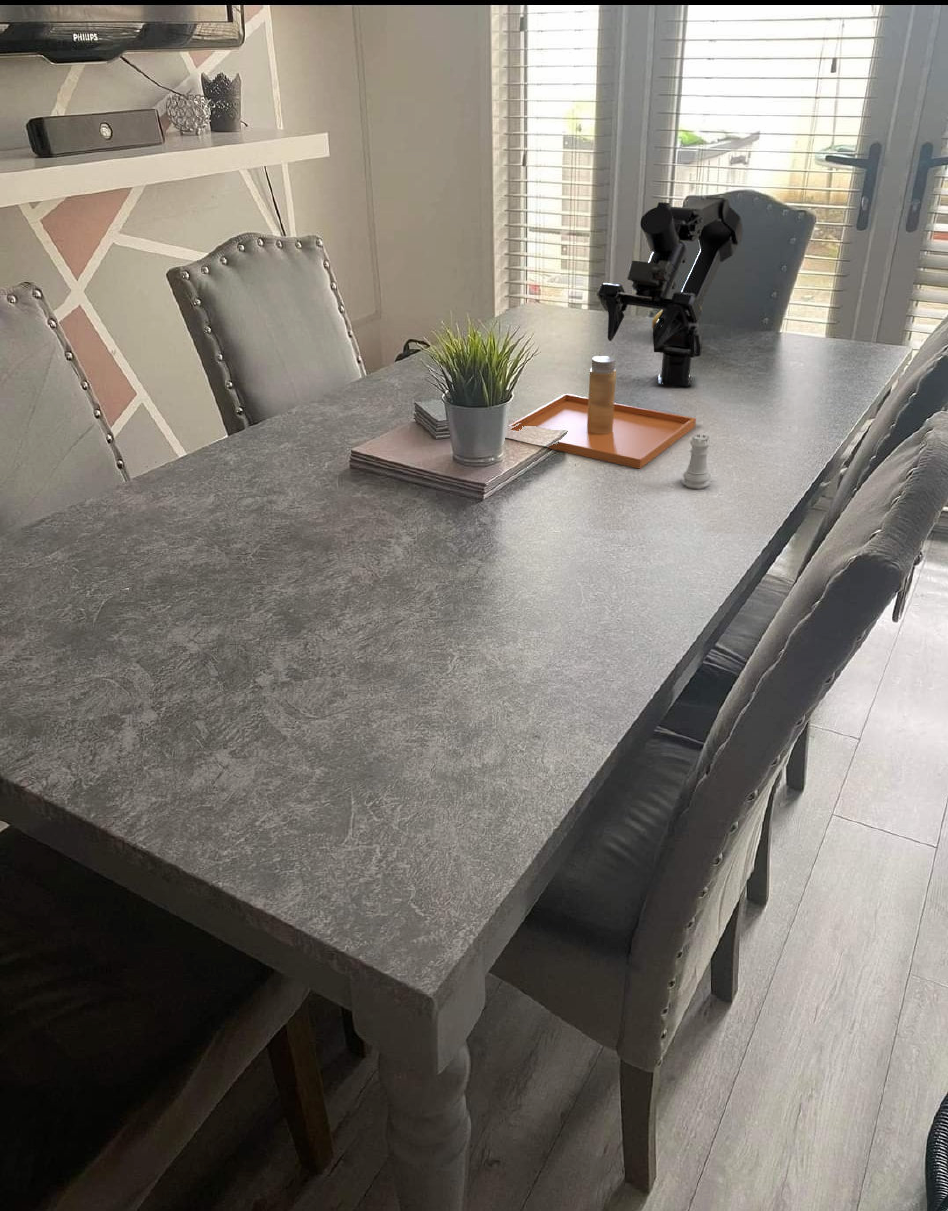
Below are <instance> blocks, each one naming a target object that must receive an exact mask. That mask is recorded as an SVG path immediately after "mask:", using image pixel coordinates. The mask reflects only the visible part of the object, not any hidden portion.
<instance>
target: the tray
mask: <svg viewBox="0 0 948 1211" xmlns="http://www.w3.org/2000/svg"><path fill="white" fill-rule="evenodd" d="M588 398H589V397H586V396H580V395H575V394H569V393H563V394H562V395H560V396H558V397H556V398H555V399H552V400H551V401H549V402H548V403H546V404H544V405H542V406H540V407H539V408H537V409H535V410H533V411H532V412H530V413H528V414H526V415H525V416H522V417H521V418H519V419H517V420H516V421H514V422H512V423H510V424H509V426H515V425H516V424H518V423H521V424H519V425H518V426H516V427H514V428H512V429H511V430H513V431H519V429H520V430H521V429H522V426H523V427H524V426H536V427H541V428H546V429H551V430H567V431H568V432H567V434H566V435H565V436H564V437H563V438H562V439H561V440H559V442H558V444H557V445H556V444H553V445H551V446H549V447H548V448H547V449H550V450H554V451H560V452H563V453H569V454H572V455H577V456H581V457H586V458H592V459H593V460H594V459H595V460H600V461H604V462H609V463H612V464H617V465H621V466H627V467H630V468H635V469H639V470H640V469H641V468H643V467H645V466H646V465H648V464H649V462H651V461H652V460H653V459H655V458H656V457H658V456H659V455H660V454H661V453H663V452H664V451H665V450H667V449H668V448H669V447H671V446H672V445H674V444H675V443H676V442H677V441H679V440H680V439H681V438H682V437H684V436H685V435H686V434H688V433H689V432H690V431H691V430H694V428H696V421H697V418H696V417H690V416H685V415H680V414H675V413H669V412H666V411H665V412H664V411H660V410H659V411H658V410H655V409H654V410H653V409H648V408H644V407H638V406H633V405H627V404H622V403H617V402H614V415H613V431H612V432H611V433H608V434H593V433H590V432H588V431H587V419H588Z"/></svg>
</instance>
